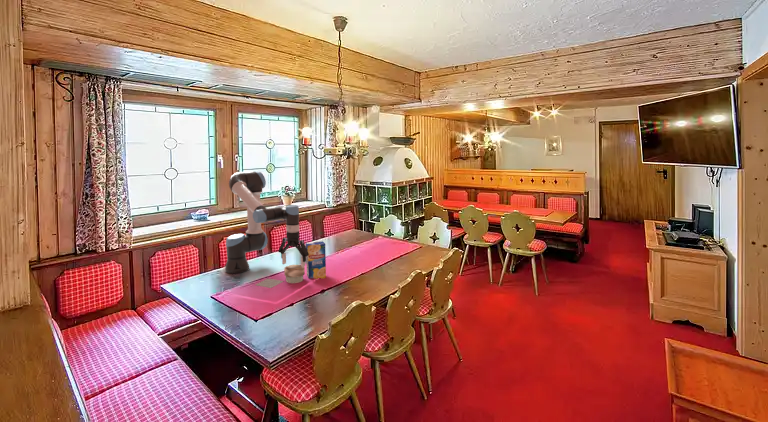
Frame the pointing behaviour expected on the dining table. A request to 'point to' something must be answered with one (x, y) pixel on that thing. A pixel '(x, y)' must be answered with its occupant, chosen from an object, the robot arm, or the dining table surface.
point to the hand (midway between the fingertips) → (293, 265)
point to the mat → (269, 283)
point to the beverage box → (316, 260)
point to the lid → (294, 271)
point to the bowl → (294, 279)
